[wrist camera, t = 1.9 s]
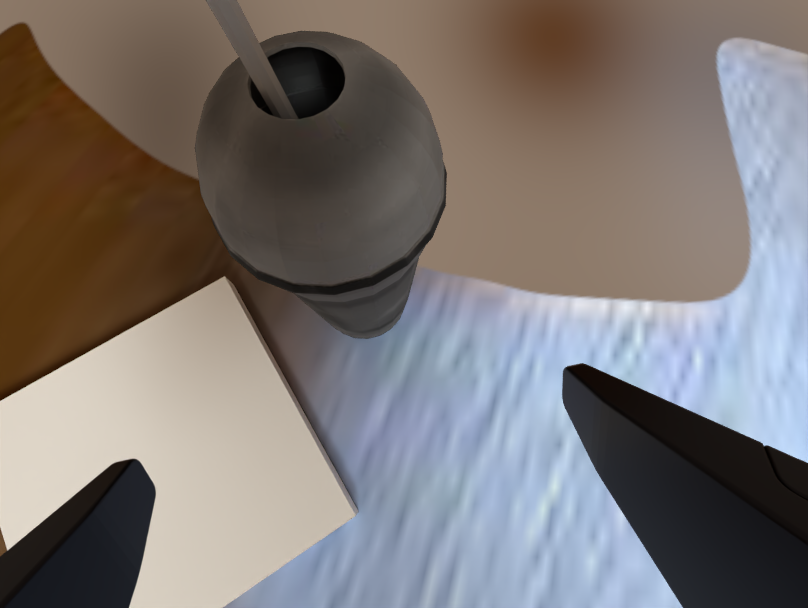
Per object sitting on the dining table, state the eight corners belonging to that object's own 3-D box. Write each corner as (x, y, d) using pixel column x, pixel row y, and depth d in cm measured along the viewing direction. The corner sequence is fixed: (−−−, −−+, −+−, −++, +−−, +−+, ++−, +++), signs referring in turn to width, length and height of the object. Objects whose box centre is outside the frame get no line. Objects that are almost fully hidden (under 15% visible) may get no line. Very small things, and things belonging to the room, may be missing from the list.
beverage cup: (437, 357, 23) (574, -37, 4) (301, 370, 23) (-228, 25, 4) (422, 235, 25) (464, -394, 6) (298, 246, 25) (-47, -363, 6)
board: (358, 511, 21) (355, 515, 20) (81, 701, 19) (60, 719, 17) (233, 283, 24) (224, 276, 23) (-11, 420, 22) (-34, 419, 21)
